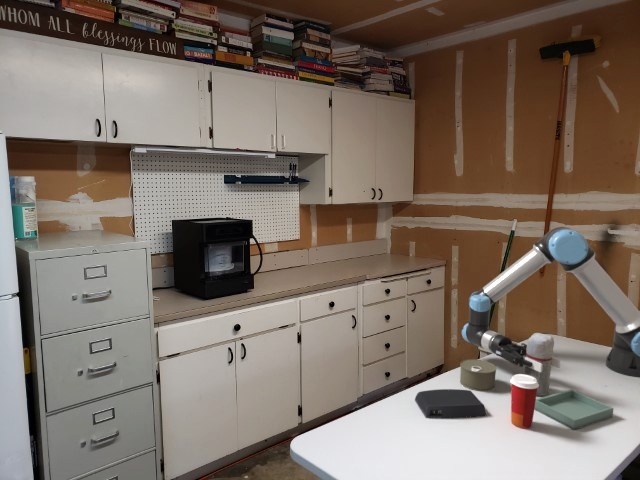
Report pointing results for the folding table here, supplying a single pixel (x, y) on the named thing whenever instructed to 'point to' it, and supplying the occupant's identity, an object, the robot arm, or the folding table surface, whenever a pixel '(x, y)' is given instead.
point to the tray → (573, 409)
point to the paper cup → (523, 400)
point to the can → (477, 375)
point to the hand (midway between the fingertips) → (550, 366)
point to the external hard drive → (449, 404)
